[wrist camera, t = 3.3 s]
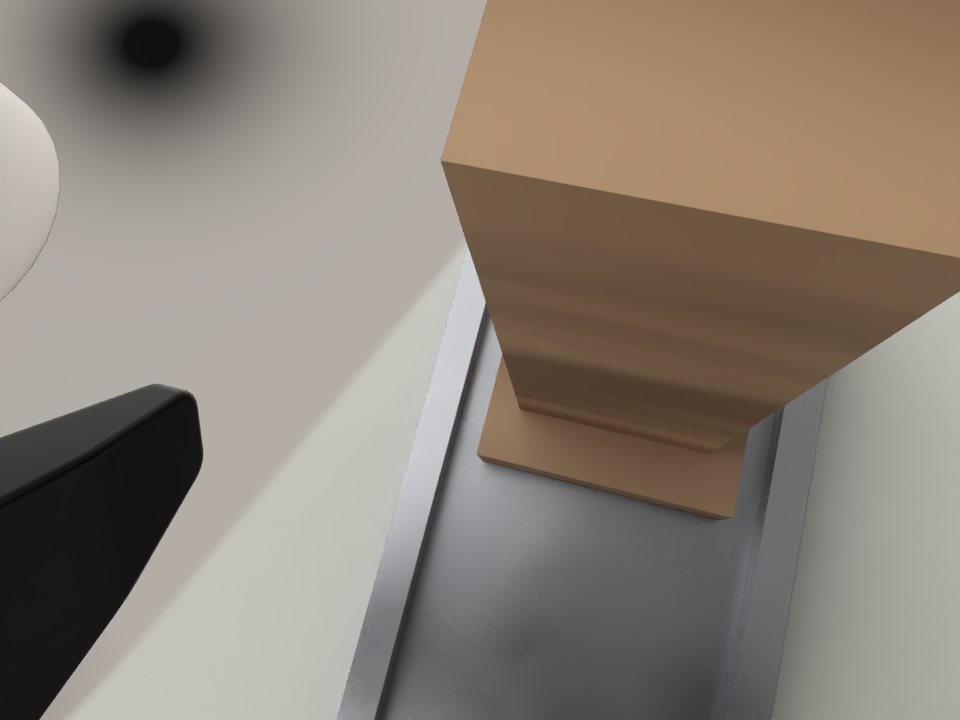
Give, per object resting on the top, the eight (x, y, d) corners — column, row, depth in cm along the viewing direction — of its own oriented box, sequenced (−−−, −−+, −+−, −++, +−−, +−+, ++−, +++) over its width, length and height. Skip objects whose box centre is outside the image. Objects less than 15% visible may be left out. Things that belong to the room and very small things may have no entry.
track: (673, 1230, 15) (693, 1354, 13) (249, 1060, 16) (198, 1144, 14) (840, 241, 19) (878, 199, 17) (493, 176, 21) (484, 129, 18)
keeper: (719, 520, 18) (1090, 450, 5) (482, 460, 18) (316, 279, 6) (765, 276, 19) (1154, -250, 6) (541, 232, 20) (502, -306, 7)
